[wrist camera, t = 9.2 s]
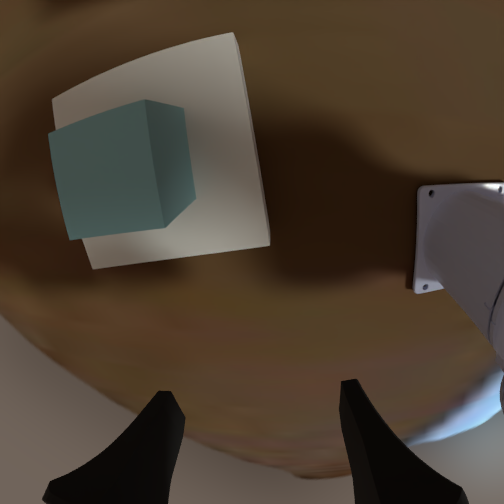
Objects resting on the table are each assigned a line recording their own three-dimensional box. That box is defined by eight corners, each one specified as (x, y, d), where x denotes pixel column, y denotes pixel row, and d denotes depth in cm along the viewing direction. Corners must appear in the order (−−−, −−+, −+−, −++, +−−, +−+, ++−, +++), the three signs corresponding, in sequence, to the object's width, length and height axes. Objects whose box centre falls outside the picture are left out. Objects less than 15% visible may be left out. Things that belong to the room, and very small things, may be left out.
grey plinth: (239, 47, 14) (233, 32, 12) (270, 228, 19) (269, 245, 16) (77, 100, 16) (51, 99, 13) (112, 252, 20) (92, 269, 18)
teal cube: (183, 107, 13) (144, 99, 9) (196, 198, 15) (165, 228, 11) (103, 128, 14) (48, 133, 9) (118, 210, 16) (69, 240, 11)
